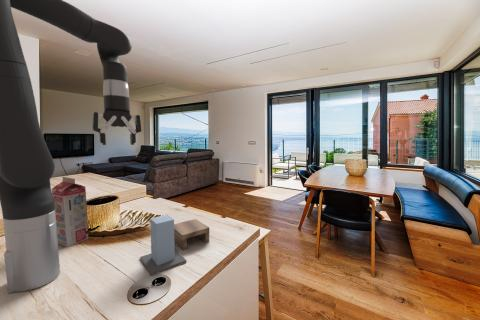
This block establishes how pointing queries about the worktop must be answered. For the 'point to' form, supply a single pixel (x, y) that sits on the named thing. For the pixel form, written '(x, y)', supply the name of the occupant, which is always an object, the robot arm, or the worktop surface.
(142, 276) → the worktop surface
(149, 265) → the coaster
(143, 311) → the worktop surface
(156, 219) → the block
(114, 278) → the worktop surface
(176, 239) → the riser
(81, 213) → the juice carton
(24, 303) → the worktop surface
